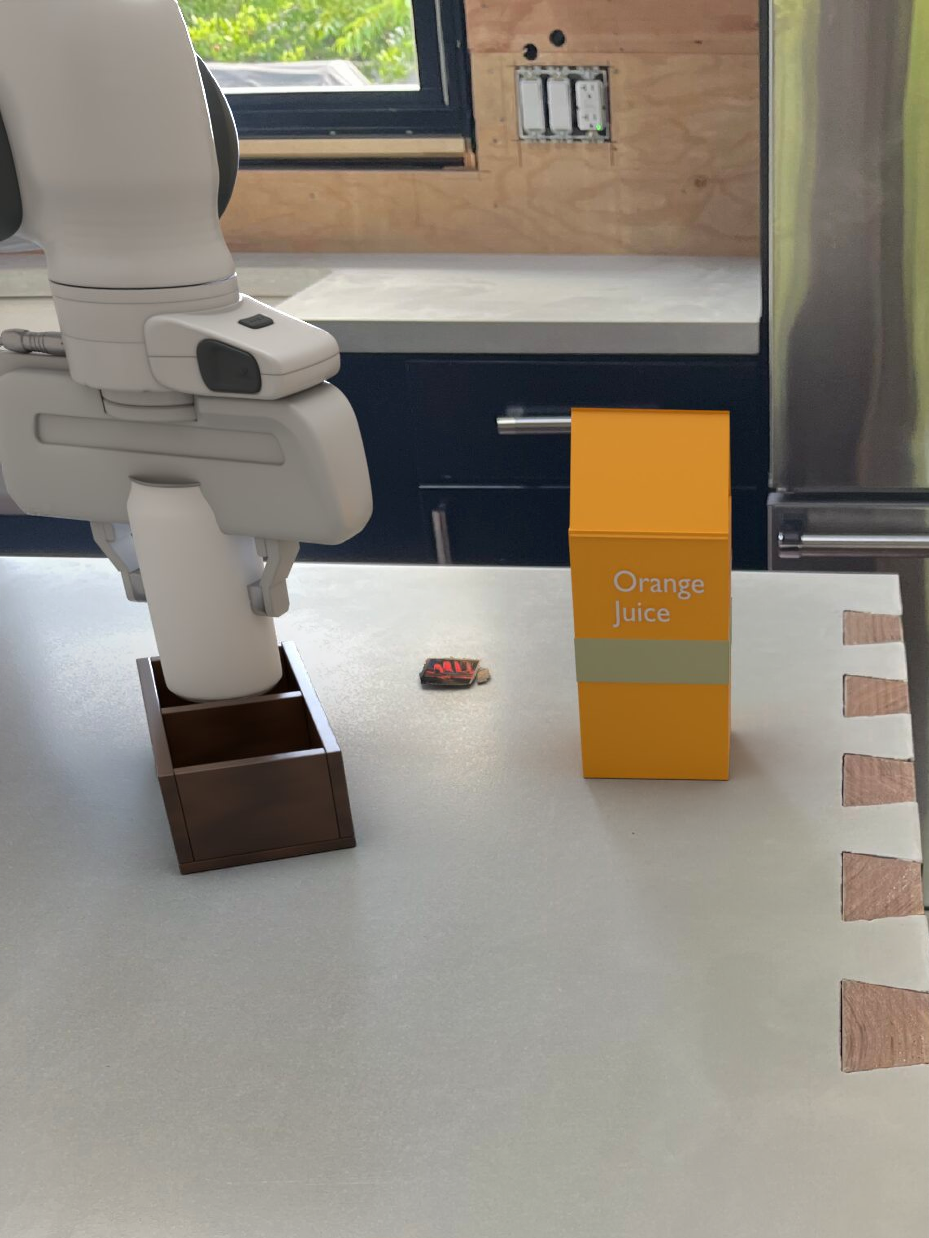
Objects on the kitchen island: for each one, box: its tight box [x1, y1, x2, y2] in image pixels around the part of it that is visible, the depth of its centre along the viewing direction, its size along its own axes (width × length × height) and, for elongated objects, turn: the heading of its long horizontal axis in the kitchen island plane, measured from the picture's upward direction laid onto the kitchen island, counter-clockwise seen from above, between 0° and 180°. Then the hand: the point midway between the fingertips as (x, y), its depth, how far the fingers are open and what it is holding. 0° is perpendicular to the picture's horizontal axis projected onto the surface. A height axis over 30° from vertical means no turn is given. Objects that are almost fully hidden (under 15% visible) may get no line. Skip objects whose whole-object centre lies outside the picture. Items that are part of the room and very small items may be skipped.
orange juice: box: [567, 407, 733, 781], centre depth 86 cm, size 8×9×20 cm
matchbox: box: [418, 655, 491, 686], centre depth 101 cm, size 5×5×1 cm
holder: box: [135, 640, 357, 875], centre depth 85 cm, size 9×17×6 cm, turn 23°
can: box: [127, 476, 282, 704], centre depth 83 cm, size 6×6×12 cm
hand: (210, 606), depth 84 cm, fingers closed on can, 6 cm apart
